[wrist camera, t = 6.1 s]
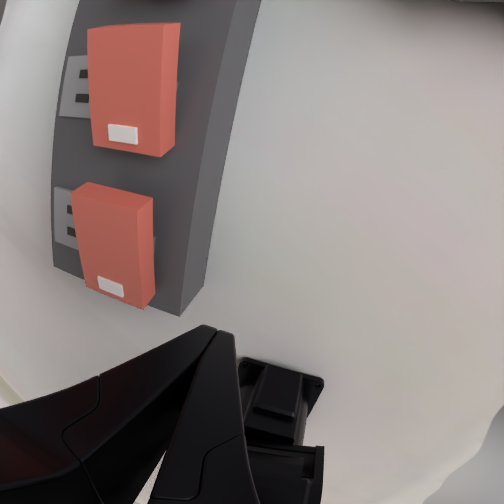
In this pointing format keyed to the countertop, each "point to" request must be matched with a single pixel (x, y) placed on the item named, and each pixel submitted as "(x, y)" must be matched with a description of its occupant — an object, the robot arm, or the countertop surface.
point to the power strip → (172, 162)
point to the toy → (477, 0)
